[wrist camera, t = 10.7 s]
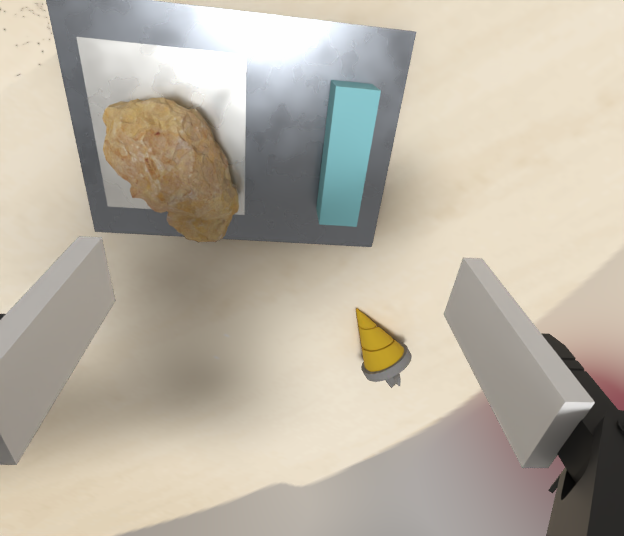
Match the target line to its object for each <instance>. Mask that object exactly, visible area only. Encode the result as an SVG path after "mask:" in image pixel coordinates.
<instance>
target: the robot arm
mask: <svg viewBox="0 0 624 536" xmlns="http://www.w3.org/2000/svg"><path fill="white" fill-rule="evenodd" d="M115 301H116V300H115V296H114V291H113V287H112V282H111V277H110V273H109V268H108V264H107V259H106V254H105V250H104V245H103V240H102V238H100V237H82V236H79V237H78V238H77V239H76V240H75V241H74V242H73V243H72V244H71V245H70V246H69V247H68V248H67V250H66V251H65V252H64V253H63V254H62V255H61V256H60V257H59V258H58V259H57V260H56V261H55V262H54V263H53V264H52V266H51V267H50V268H49V269H48V270H47V271H46V272H45V273H44V274H43V275H42V276H41V277H40V278H39V279H38V280H37V282H36V283H35V284H34V285H33V286H32V287H31V288H30V289H29V290H28V291H27V292H26V293H25V294H24V295H23V296H22V298H21V299H20V300H19V301H18V302H17V303H16V304H15V305H14V306H13V307H12V308H11V309H10V310H9V311H8V312H7V314H0V465H17V463H18V462H19V460H20V458H21V457H22V455H23V453H24V452H25V450H26V448H27V447H28V445H29V443H30V442H31V440H32V438H33V437H34V435H35V433H36V432H37V430H38V428H39V427H40V425H41V423H42V422H43V420H44V418H45V417H46V415H47V413H48V412H49V410H50V408H51V407H52V405H53V403H54V402H55V400H56V398H57V397H58V395H59V393H60V392H61V390H62V389H63V387H64V385H65V384H66V382H67V380H68V379H69V377H70V375H71V374H72V372H73V370H74V369H75V367H76V365H77V364H78V362H79V360H80V359H81V357H82V355H83V354H84V352H85V350H86V349H87V347H88V345H89V344H90V342H91V340H92V339H93V337H94V335H95V334H96V332H97V330H98V329H99V327H100V325H101V324H102V322H103V320H104V319H105V317H106V315H107V314H108V312H109V310H110V309H111V307H112V306H113V304H114V302H115ZM444 316H445V318H446V320H447V322H448V324H449V326H450V328H451V330H452V332H453V334H454V336H455V338H456V340H457V342H458V343H459V345H460V347H461V349H462V351H463V353H464V355H465V357H466V359H467V361H468V363H469V365H470V367H471V369H472V371H473V373H474V375H475V377H476V379H477V381H478V383H479V385H480V387H481V388H482V390H483V392H484V394H485V396H486V398H487V400H488V402H489V404H490V406H491V408H492V410H493V412H494V414H495V416H496V418H497V420H498V422H499V424H500V426H501V428H502V430H503V432H504V433H505V435H506V437H507V439H508V441H509V443H510V445H511V447H512V449H513V451H514V453H515V455H516V457H517V459H518V461H519V463H520V465H521V467H522V468H549V466H550V465H551V464H552V462H553V461H554V459H555V458H556V456H557V455H559V457H560V459H561V461H562V462H563V464H564V466H565V468H564V470H563V471H562V473H561V474H560V475H559V476H558V478H557V479H556V481H555V482H554V483H553V484H552V486H551V487H550V489H549V491H550V492H552V493H553V492H554V491H555V490H556V488H557V491H556V495H555V500H554V504H553V508H552V513H551V517H550V521H549V526H548V530H547V534H546V536H624V411H621V410H618V409H617V408H616V407H615V406H614V404H613V403H612V402H611V401H610V399H609V398H608V397H607V396H606V395H605V394H604V392H603V391H602V390H601V389H600V387H599V386H598V385H597V384H596V383H595V381H594V380H593V379H592V378H591V376H590V375H589V374H588V373H587V372H586V371H584V368H583V367H582V366H581V364H580V363H579V362H578V361H576V360H575V357H574V356H573V355H572V353H571V352H570V351H569V350H568V349H567V348H566V346H565V345H564V344H562V343H561V342H560V341H558V340H557V339H556V338H554V337H553V336H552V335H550V334H541V333H540V332H539V330H538V329H537V328H536V326H535V325H534V324H533V323H532V321H531V320H530V319H529V317H528V316H527V315H526V314H525V312H524V311H523V310H522V309H521V307H520V306H519V305H518V303H517V302H516V301H515V300H514V298H513V297H512V296H511V295H510V293H509V292H508V291H507V289H506V288H505V287H504V286H503V284H502V283H501V282H500V280H499V279H498V278H497V277H496V275H495V274H494V273H493V272H492V270H491V269H490V268H489V266H488V265H487V264H486V263H485V261H484V260H483V259H478V258H463V259H462V262H461V265H460V268H459V271H458V274H457V277H456V280H455V283H454V286H453V288H452V291H451V294H450V297H449V300H448V303H447V306H446V309H445V312H444Z"/></svg>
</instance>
